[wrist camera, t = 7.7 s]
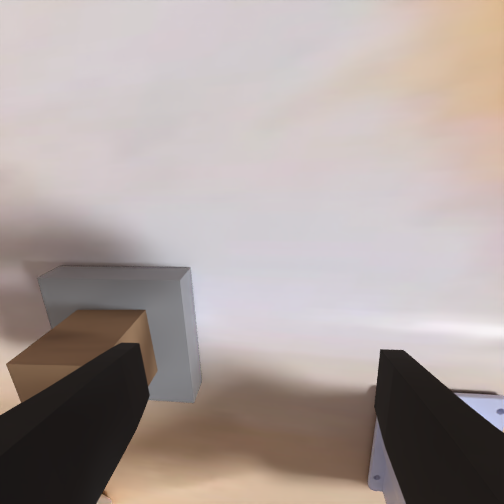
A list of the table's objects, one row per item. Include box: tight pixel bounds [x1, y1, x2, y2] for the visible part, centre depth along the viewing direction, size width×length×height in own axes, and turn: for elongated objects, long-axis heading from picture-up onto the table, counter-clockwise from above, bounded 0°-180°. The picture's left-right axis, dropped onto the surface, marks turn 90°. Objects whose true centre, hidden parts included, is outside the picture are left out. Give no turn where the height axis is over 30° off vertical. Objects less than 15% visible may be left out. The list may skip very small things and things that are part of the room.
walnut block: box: [6, 310, 158, 403], centre depth 17 cm, size 4×4×5 cm
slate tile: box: [37, 266, 202, 403], centre depth 20 cm, size 9×9×2 cm
